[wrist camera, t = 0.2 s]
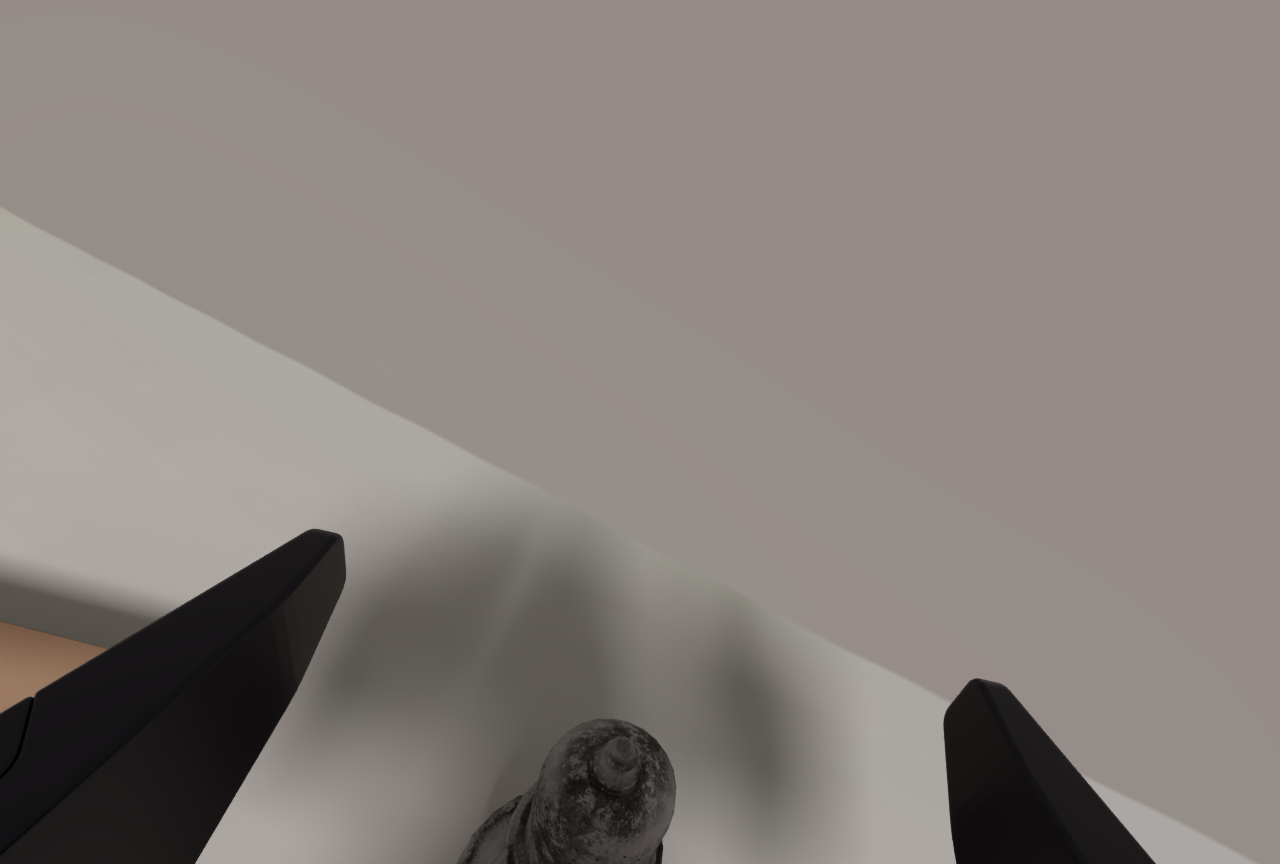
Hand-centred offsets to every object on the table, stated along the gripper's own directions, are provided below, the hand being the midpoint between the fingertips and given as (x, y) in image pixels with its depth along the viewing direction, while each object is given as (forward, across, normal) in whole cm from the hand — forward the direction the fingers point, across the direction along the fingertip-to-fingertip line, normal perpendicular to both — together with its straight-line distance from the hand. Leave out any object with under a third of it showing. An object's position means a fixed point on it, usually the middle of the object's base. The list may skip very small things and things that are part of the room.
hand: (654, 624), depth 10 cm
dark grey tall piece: (+1, 0, +17) cm, 17 cm away
